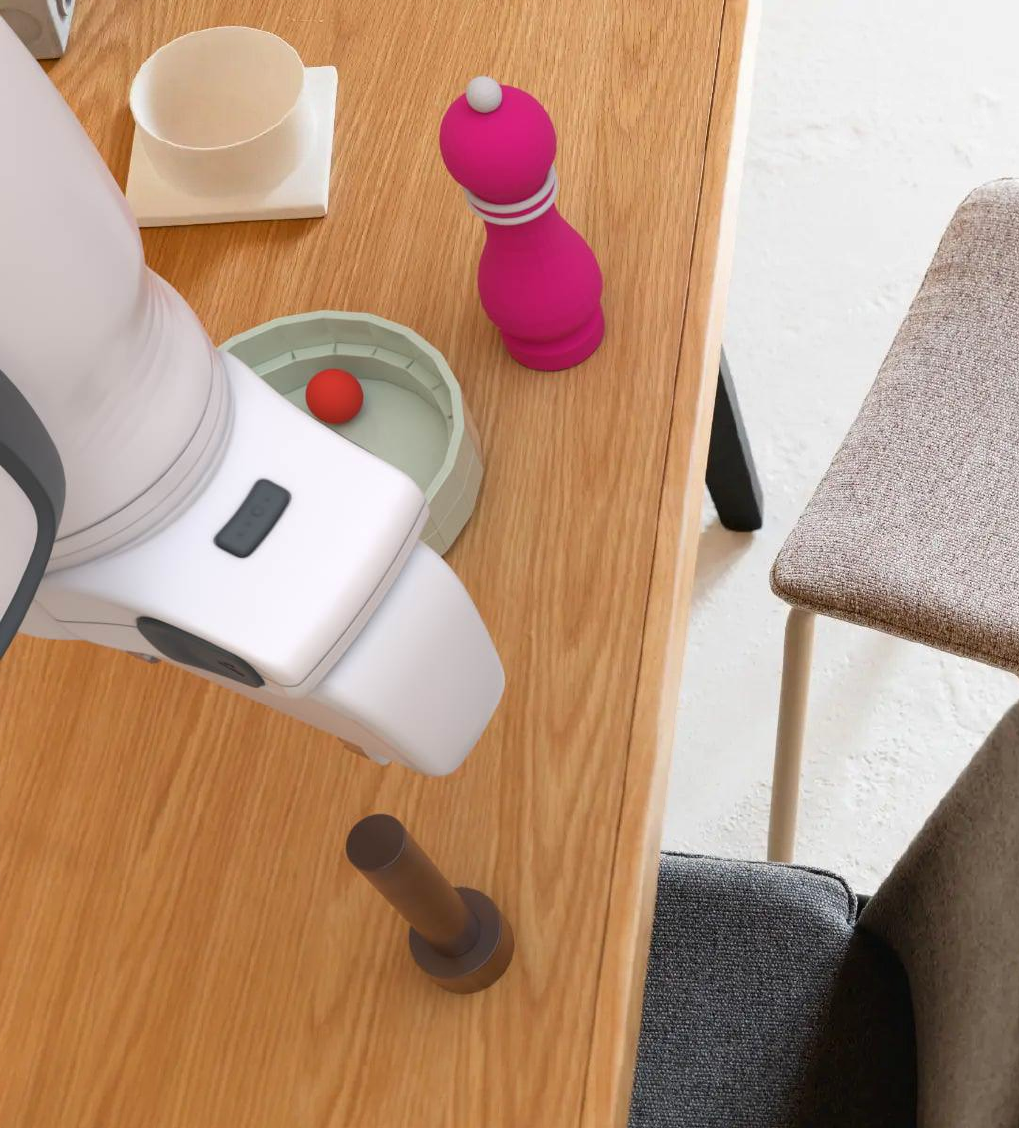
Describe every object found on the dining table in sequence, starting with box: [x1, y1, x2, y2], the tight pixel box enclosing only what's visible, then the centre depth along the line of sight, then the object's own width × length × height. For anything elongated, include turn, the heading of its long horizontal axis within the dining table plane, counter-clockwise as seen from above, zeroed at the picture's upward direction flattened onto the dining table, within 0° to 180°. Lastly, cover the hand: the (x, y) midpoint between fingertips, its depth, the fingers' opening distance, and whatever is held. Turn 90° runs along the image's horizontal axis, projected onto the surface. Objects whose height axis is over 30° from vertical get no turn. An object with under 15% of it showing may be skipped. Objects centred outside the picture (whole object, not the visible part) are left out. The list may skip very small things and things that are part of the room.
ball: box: [305, 369, 363, 424], centre depth 88 cm, size 3×3×3 cm
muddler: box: [345, 813, 515, 995], centre depth 67 cm, size 4×4×16 cm
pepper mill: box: [438, 75, 606, 372], centre depth 84 cm, size 7×7×20 cm
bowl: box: [216, 309, 485, 558], centre depth 85 cm, size 17×17×6 cm
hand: (265, 689), depth 52 cm, fingers open, 8 cm apart
